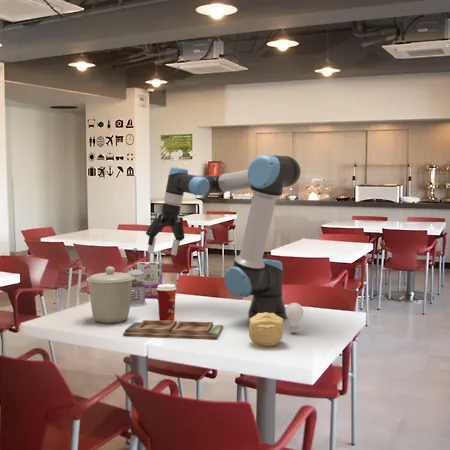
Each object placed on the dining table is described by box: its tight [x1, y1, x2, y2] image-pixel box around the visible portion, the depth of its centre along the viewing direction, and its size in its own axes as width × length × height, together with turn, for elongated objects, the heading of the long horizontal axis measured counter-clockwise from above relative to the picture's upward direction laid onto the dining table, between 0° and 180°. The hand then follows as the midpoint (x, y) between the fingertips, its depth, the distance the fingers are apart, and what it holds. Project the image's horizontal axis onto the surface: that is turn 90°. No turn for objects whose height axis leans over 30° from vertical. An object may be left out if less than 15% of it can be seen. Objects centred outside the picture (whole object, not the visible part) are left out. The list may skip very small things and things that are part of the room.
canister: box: [86, 265, 135, 324], centre depth 230 cm, size 18×18×21 cm
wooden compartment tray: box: [122, 319, 224, 340], centre depth 212 cm, size 33×16×2 cm, turn 82°
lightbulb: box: [285, 302, 304, 335], centre depth 210 cm, size 6×6×11 cm
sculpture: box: [248, 312, 285, 348], centre depth 196 cm, size 12×12×11 cm
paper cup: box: [157, 283, 177, 321], centre depth 228 cm, size 8×8×14 cm
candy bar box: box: [135, 261, 163, 299], centre depth 275 cm, size 11×5×16 cm, turn 81°
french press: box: [126, 247, 151, 308], centre depth 259 cm, size 10×12×25 cm
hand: (162, 254), depth 247 cm, fingers open, 13 cm apart
